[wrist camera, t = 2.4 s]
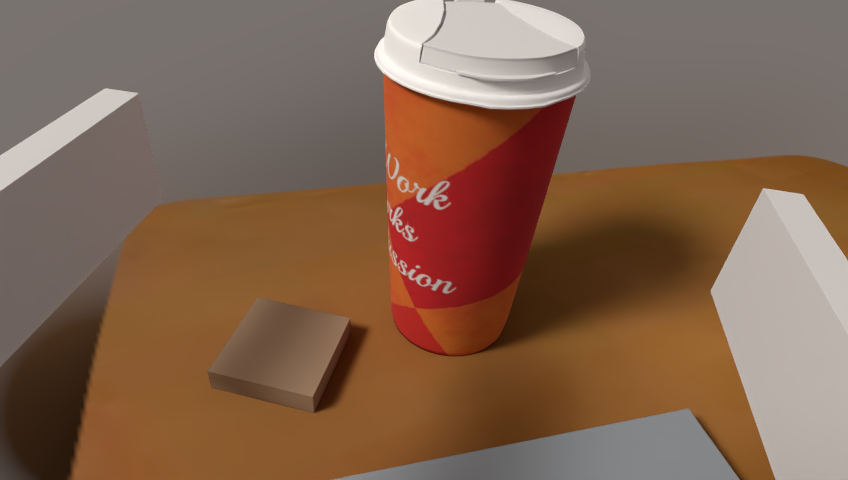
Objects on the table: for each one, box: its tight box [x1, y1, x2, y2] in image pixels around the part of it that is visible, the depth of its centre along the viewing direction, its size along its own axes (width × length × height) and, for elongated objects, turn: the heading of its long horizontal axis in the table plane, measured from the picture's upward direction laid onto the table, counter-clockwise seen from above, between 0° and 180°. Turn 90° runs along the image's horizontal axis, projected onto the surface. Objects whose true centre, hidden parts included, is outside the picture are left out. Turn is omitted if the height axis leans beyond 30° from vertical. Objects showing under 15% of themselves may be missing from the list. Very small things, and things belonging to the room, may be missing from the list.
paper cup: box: [375, 0, 591, 356], centre depth 24 cm, size 8×8×14 cm
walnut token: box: [208, 298, 350, 413], centre depth 25 cm, size 4×4×2 cm
